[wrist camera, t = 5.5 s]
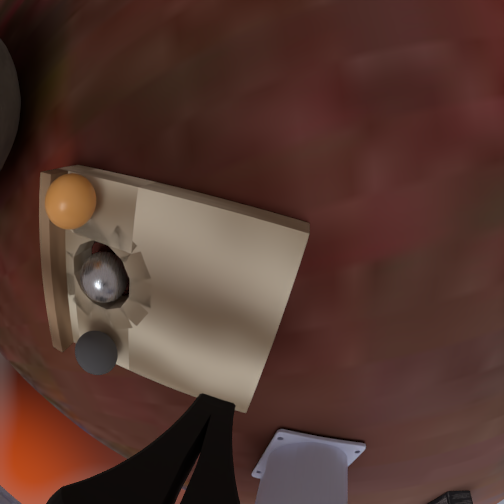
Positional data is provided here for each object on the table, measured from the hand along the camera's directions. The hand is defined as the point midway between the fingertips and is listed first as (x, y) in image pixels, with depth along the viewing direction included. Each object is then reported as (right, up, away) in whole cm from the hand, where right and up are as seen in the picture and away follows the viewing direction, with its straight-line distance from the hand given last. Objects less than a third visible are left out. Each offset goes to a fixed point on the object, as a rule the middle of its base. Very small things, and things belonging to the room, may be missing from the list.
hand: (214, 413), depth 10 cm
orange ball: (-8, +9, +3) cm, 13 cm away
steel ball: (-8, +5, +7) cm, 11 cm away
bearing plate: (-4, +4, +8) cm, 10 cm away
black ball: (-9, 0, +7) cm, 11 cm away
